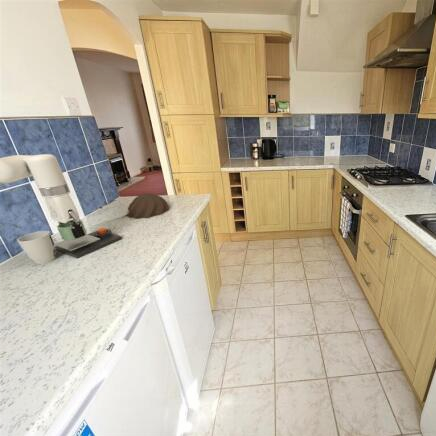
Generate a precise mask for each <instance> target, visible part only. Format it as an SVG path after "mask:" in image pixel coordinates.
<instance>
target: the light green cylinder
mask: <svg viewBox="0 0 436 436" xmlns="http://www.w3.org/2000/svg"><path fill="white" fill-rule="evenodd" d="M80 222H81V225H82V228H83V230H84V233H85V235H86V234H88V233H87V229H86V227H85V225H84V222H83V220H82V219H80ZM71 223H72V224H73V223H74V222H71ZM56 228H57V230H58V232H59V235H60V237H61V239H62V240H66V241H70V240H76V239H79V238H81V237H79V238H75V237H74V235H73V233H72V231H71V229H72V228H71V226H70V225H69V223H68V222H67V223H61V224H59V223H58V225H56ZM82 237H83V236H82Z"/></svg>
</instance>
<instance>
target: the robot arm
mask: <svg viewBox="0 0 436 436" xmlns="http://www.w3.org/2000/svg"><path fill="white" fill-rule="evenodd" d="M30 177H32V178H33V180H34V182H35V184H36V186H37V188H38V191H39V193H40V195H41V197H42V198H43V199H44V202H45V204H46V207H47V210H48V212H49V215H50V217H51V219H52V220H53V221H54V222H57V223H58V225H59V224H61V223H67V222H68V223H69V225H70V226H71V228H72V229H71V231H72V233H73V235H74V237H75V238H79V237H82V236H85V233H84V230H83V228H82V225H81V222H80V220H81V218H80V215H79V212H78V211H79V210H77V207H76V205H75V203H74V201H73V199H72V197H71V195H70V193H71V190H70V187H69V186H68V183H67V180H66V177H65V175H64V173H63V171H62V168H61V166H60V164H59V161H58V159H57V157H56V156H55V155H53V154H50V153H43V154H42V153H41V154H33V155H27V154H15V155H9V156H8V155H7V156H3V157H0V184H10V183H11V184H12V183H14V182H17V181H20V180H23V179H27V178H30ZM71 222H74V223H73V224H72V223H71Z"/></svg>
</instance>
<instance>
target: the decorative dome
mask: <svg viewBox="0 0 436 436" xmlns="http://www.w3.org/2000/svg"><path fill="white" fill-rule="evenodd" d="M169 210H170V207H169V204H168V202H167V200H166V199H164V198H163V197H162V196H160V195H158V194H155V193H151V192H150V193H149V192H147V193H142V194H140V195H137V196H136V197H134V198H133V199H132V201H131V202H130V204H129V205H128V206H127V211H128V218H133V219H134V220H138V219H150V218H152V217H156V216H162V215H163V214H164V213H166V212H168V211H169Z"/></svg>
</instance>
